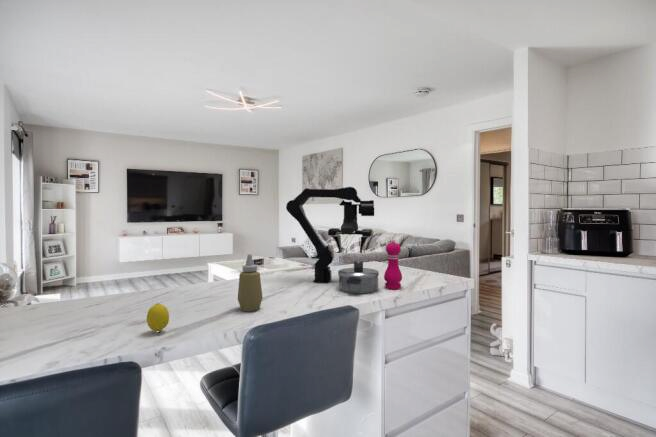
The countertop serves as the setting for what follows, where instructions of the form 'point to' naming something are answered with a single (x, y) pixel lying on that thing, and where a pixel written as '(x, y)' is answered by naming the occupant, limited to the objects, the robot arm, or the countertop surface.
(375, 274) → the lid
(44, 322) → the countertop surface
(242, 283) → the squeeze bottle
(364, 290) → the pot
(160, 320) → the lemon
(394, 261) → the pepper mill
